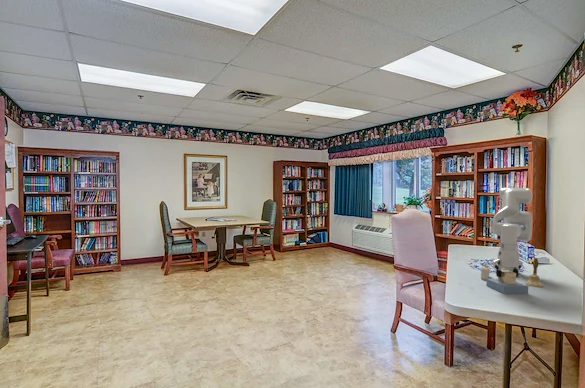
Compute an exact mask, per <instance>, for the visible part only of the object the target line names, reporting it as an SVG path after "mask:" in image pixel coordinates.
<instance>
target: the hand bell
mask: <svg viewBox="0 0 585 388" xmlns="http://www.w3.org/2000/svg"><path fill="white" fill-rule="evenodd" d="M532 267H533V272H532V274H530V275H529V279H528V280H527V281H526V282H525V285H526V286H533V287H536V288H543V285H544V284H542V282H541V280H540V276H539V275H538V268H539V260H538V258H536V257H535V258H534V259H533V262H532Z"/></svg>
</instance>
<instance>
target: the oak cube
mask: <svg viewBox="0 0 585 388" xmlns="http://www.w3.org/2000/svg"><path fill="white" fill-rule="evenodd" d="M501 271H502V274H501V278H500V277H497V279H498V281H500V282H502V283H504V284H516V282H517V278H516V273H514V272H511V271H509V270H501Z"/></svg>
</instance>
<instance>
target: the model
mask: <svg viewBox="0 0 585 388" xmlns="http://www.w3.org/2000/svg"><path fill="white" fill-rule="evenodd" d="M480 269H481V273H480V280H485V281H487V279H490V278H489V277H490V269H491V268H490V265H486V264H484V266H481V268H480Z"/></svg>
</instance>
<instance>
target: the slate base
mask: <svg viewBox="0 0 585 388" xmlns="http://www.w3.org/2000/svg"><path fill="white" fill-rule="evenodd" d="M486 286H487V287H489V288H491V289H493V290H495V291H497V292H500V293H501V294H510V293H528V294H529V285H527V284H524V283H521V282H518V281H516V284H504V283H502V282H500V281H498V278H488V279H487V280H486Z"/></svg>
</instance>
